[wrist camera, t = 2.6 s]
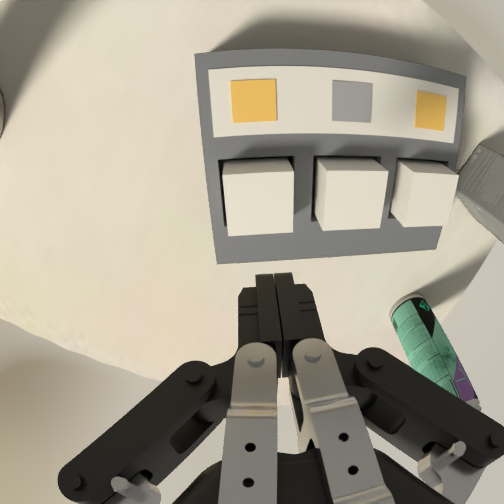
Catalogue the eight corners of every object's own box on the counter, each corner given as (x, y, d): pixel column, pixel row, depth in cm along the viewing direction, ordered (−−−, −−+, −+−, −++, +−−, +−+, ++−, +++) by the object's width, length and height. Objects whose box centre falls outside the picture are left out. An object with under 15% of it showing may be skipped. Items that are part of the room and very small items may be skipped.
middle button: (313, 211, 23) (322, 231, 21) (315, 157, 21) (326, 170, 18) (365, 209, 23) (379, 228, 21) (371, 157, 21) (388, 171, 18)
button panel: (219, 232, 29) (216, 265, 25) (203, 57, 20) (193, 53, 16) (412, 223, 29) (436, 250, 25) (432, 70, 20) (467, 76, 16)
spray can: (401, 327, 38) (452, 452, 22) (381, 314, 36) (436, 453, 20) (430, 303, 36) (493, 426, 20) (413, 286, 34) (484, 424, 18)
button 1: (388, 209, 23) (403, 227, 21) (395, 158, 21) (413, 172, 18) (429, 208, 23) (447, 225, 21) (438, 161, 21) (459, 175, 18)
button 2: (229, 215, 23) (228, 236, 21) (224, 161, 21) (222, 175, 18) (286, 212, 23) (292, 232, 21) (286, 157, 21) (294, 171, 18)
